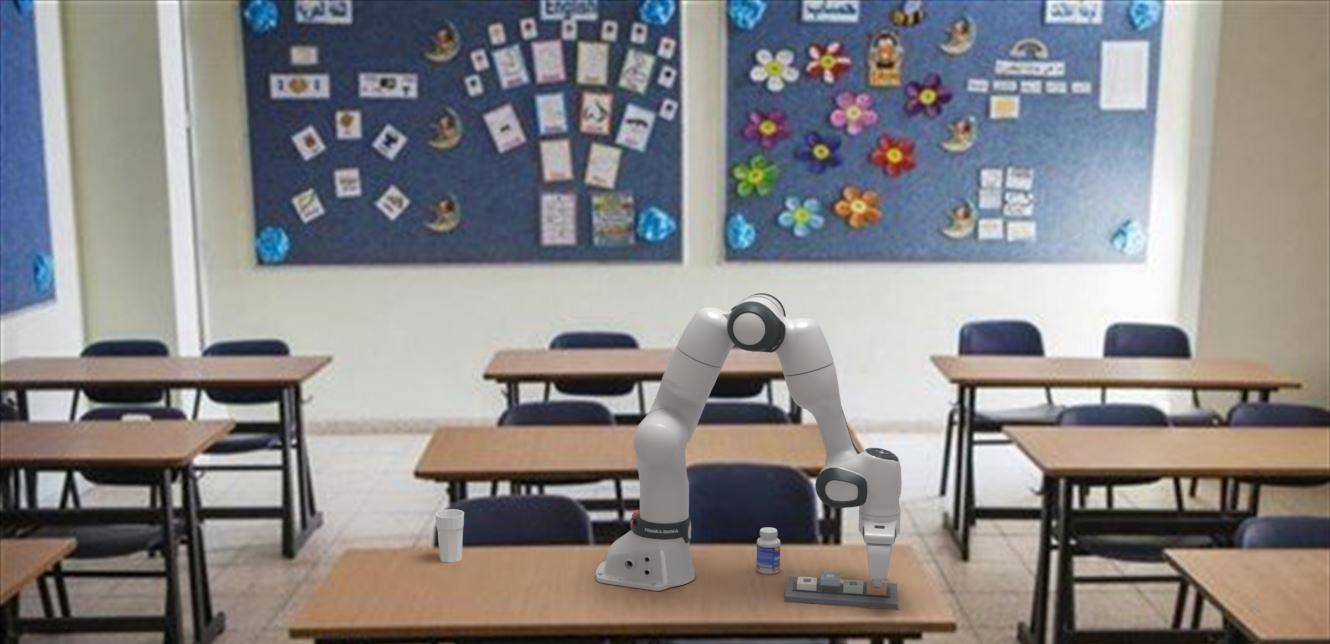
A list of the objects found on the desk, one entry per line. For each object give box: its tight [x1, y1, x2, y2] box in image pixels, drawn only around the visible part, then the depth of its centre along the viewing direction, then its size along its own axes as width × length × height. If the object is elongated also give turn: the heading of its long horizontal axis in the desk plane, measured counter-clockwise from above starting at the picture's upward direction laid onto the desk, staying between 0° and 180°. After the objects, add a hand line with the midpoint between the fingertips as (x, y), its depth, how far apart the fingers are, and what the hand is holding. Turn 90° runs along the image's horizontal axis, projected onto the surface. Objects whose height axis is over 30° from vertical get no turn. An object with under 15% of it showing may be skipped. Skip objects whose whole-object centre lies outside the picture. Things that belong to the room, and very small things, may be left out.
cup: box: [435, 508, 465, 564], centre depth 292 cm, size 7×7×11 cm
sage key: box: [843, 579, 864, 594], centre depth 272 cm, size 4×4×2 cm
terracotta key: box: [867, 580, 887, 596], centre depth 271 cm, size 4×4×2 cm
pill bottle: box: [756, 526, 781, 575], centre depth 286 cm, size 5×5×10 cm
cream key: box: [797, 576, 818, 591], centre depth 273 cm, size 4×4×2 cm
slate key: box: [819, 571, 841, 586], centre depth 272 cm, size 4×4×2 cm
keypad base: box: [784, 575, 899, 610], centre depth 272 cm, size 24×12×2 cm, turn 81°
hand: (877, 584), depth 271 cm, fingers closed, pressing on terracotta key
